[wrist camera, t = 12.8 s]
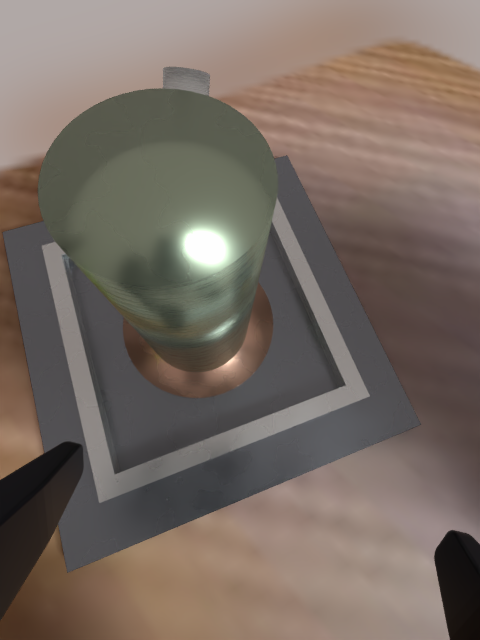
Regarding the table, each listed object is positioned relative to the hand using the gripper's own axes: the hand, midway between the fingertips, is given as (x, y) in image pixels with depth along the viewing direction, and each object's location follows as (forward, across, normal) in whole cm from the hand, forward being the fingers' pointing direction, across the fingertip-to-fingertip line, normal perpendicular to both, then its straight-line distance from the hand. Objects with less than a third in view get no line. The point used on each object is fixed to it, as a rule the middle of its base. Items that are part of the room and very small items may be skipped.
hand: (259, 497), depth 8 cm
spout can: (+12, +4, +2) cm, 13 cm away
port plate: (+13, +4, +3) cm, 14 cm away
